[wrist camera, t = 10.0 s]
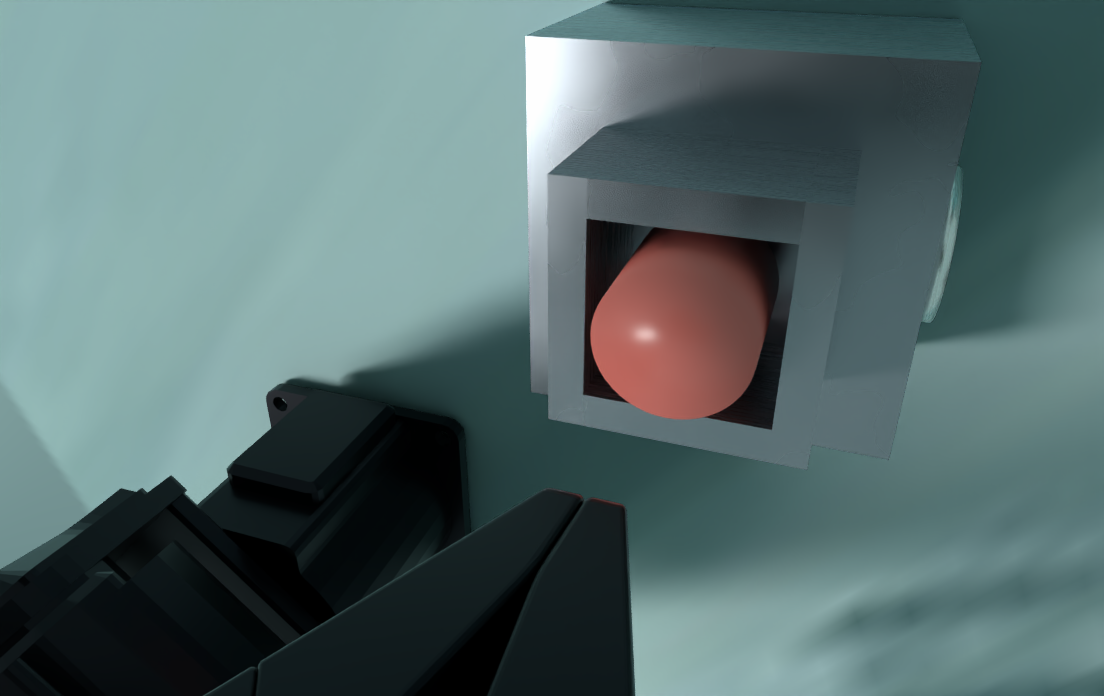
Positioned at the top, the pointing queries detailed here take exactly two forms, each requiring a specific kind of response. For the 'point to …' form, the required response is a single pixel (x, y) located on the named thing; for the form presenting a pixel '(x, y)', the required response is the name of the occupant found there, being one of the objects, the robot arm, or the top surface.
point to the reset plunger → (686, 322)
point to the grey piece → (750, 202)
